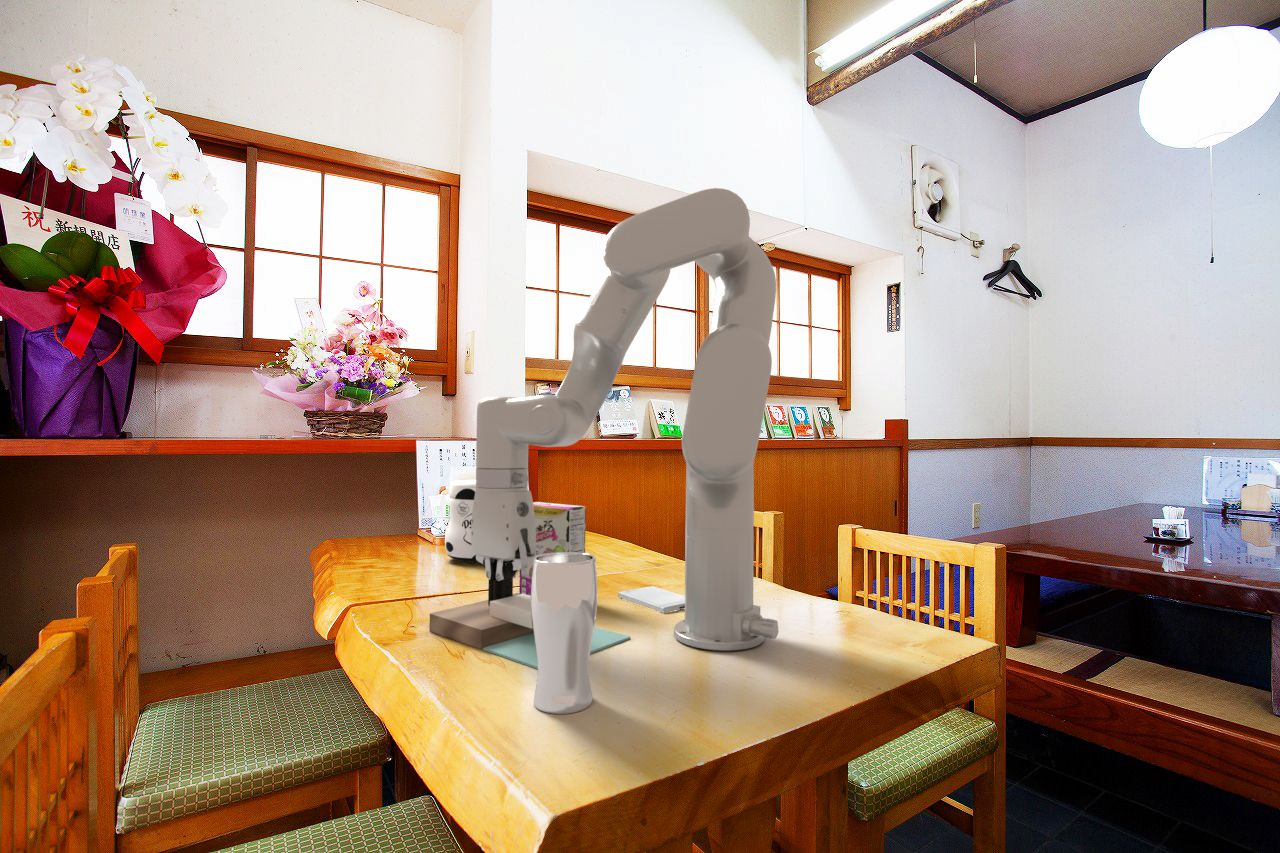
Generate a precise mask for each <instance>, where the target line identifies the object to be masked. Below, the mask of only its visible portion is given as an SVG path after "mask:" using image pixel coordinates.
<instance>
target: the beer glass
mask: <svg viewBox="0 0 1280 853" xmlns="http://www.w3.org/2000/svg"><path fill="white" fill-rule="evenodd" d="M596 561H597V556H595V555H594V554H590V553H588V552H585V553H580V552H554V553H545V554H540V555H537V556H535V557H534V558H533V571H532V582H531V617H532V626H533V632H534V639H535V645H536V651H537V659H538V669H537V678H536V685H535V689H534V694H533V705H534V707H535V708H536V709H537V710H539V711H540V712H544V713H547V714H553V715H568V714H574V713H578V712H582V711H583V710H585V709H587V708H589V707H590V706H591V705H592V703H593V692H592V687H591V681H590V680H591V679H590V657H591V656H590V655H591V654H590V651H591V645H592V639H593V634H594V628H595V627H596V621H597V614H598V599H599V598H598V573H597V562H596Z"/></svg>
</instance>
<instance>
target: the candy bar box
mask: <svg viewBox="0 0 1280 853" xmlns="http://www.w3.org/2000/svg"><path fill="white" fill-rule="evenodd" d="M533 506H534V514H535V528H536V552H535V555H534V556H532V557H527V561H528V567H527V568H525V569H520V570H519V588H518V590H519V592H518V593H520V594H526V595H530V596H531V582H532V571H533V558H534V557H535V556H537V555H540V554H545V553H554V552H580V553H586V516H587V515H586V510H587V508H586V506H583V505H576V504H575V505H574V504H563V503H553V502H543V501H541V502H540V501H533Z"/></svg>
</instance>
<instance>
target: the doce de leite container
mask: <svg viewBox="0 0 1280 853" xmlns="http://www.w3.org/2000/svg"><path fill="white" fill-rule="evenodd" d="M475 491H476V479H463V480H454V481H451V482H450V487H449V520H448V525H447V527H446V530H445V534H444V535H445V536H444V548H445V551H446V555H447V556H448V557H449V558H450V559H452V560H455V561H460V562H466V563H480V562H479V561H477V560H476V554H475V553H474V552H473V550H472V546H471V523H472V511H473V503H474V497H475ZM496 560H497V559H496Z"/></svg>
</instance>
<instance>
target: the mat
mask: <svg viewBox="0 0 1280 853" xmlns="http://www.w3.org/2000/svg"><path fill="white" fill-rule="evenodd" d="M630 639H631V636H629V635H626V634H622V633H618V632H615V631H611V630H607V629H603V628H599V627H596V626H595V628H594V634H593V639H592V645H591V651H590V655H591V654H593V653H597V652H599V651H601V650H604V649H607V648H609V647H612V646H615V645H617V644H620V643H623V642H625V641H628V640H630ZM482 650H483V651H485V652H487V653H491V654H493V655H496V656H499V657H502V658H505V659H508V660H511V661H514V662H515V663H516V662H517V663H518V664H522V665H524V666H527V667H530V668H534V669H536V670H538V659H537V651H536V645H535V639H534V633H531V634H527V635H524V636H521V637H517V638H514V639H511V640H508V641H504V642H501V643H498V644H495V645H491V646H488V647H485V648H484V649H482Z"/></svg>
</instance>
